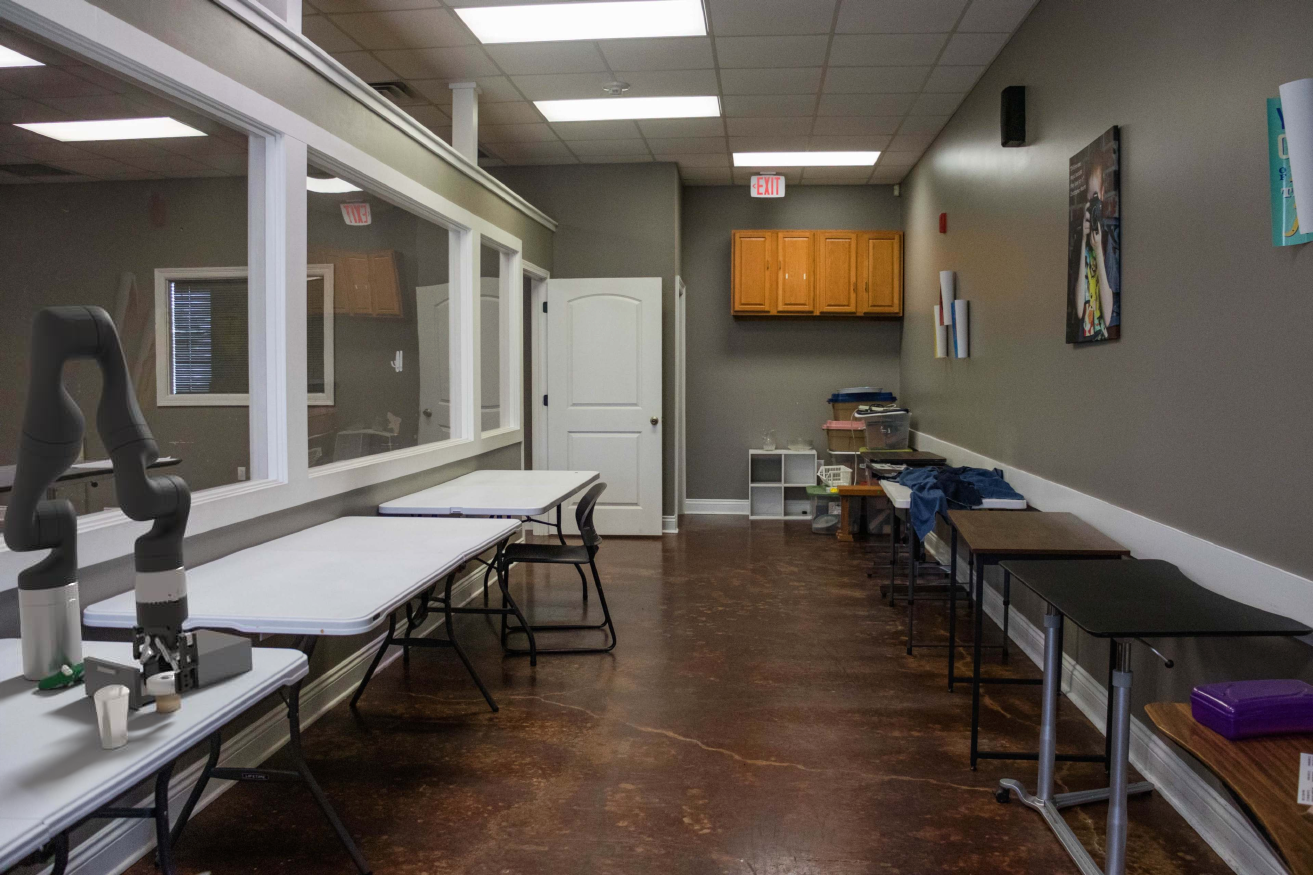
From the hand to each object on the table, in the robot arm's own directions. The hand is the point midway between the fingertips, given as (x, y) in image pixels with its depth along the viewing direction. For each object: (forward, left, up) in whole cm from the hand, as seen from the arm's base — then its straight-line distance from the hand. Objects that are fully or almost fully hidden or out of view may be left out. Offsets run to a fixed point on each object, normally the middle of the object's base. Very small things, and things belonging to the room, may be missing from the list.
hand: (167, 688), depth 143 cm
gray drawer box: (-12, +14, -4) cm, 18 cm away
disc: (0, 0, 0) cm, 0 cm away
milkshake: (+6, -12, -4) cm, 14 cm away
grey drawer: (-12, +3, -3) cm, 12 cm away
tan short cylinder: (0, 0, -4) cm, 4 cm away
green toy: (-29, 0, -4) cm, 29 cm away
